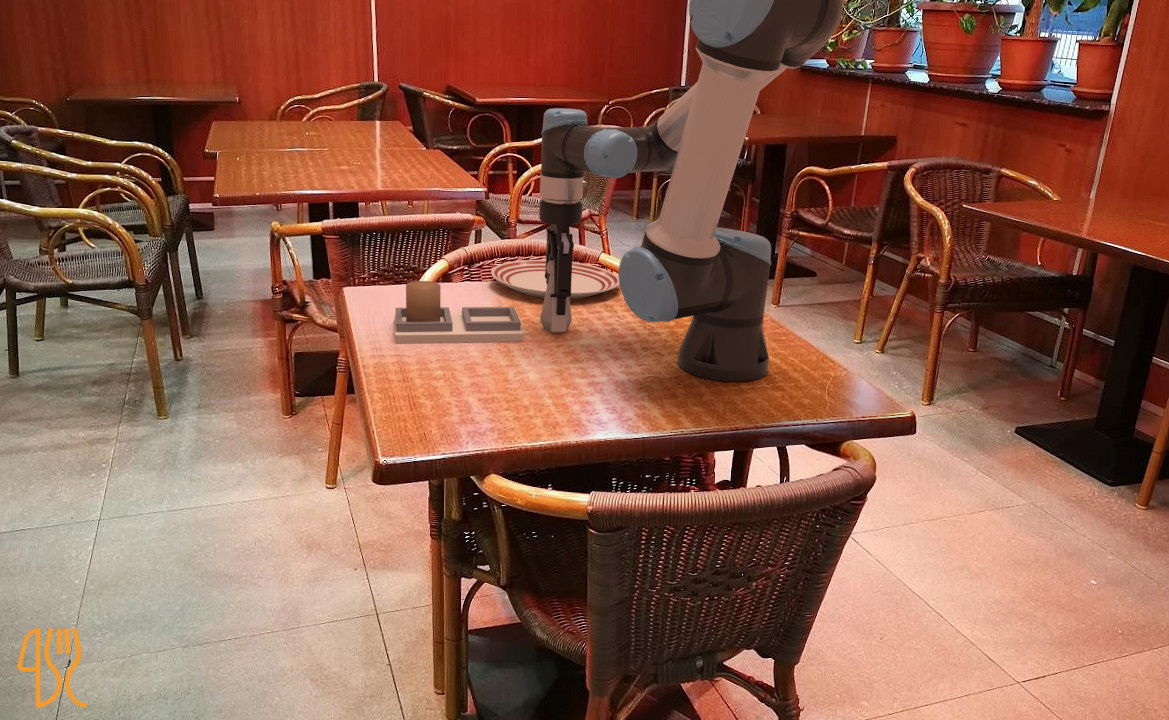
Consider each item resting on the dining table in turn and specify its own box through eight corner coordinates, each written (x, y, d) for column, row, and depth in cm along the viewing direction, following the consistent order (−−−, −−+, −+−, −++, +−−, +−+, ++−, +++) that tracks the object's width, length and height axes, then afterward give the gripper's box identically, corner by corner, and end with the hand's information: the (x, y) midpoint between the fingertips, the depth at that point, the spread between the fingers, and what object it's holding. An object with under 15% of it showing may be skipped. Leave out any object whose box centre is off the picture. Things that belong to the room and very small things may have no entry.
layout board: (522, 341, 167) (524, 295, 164) (395, 343, 162) (394, 295, 159) (513, 319, 179) (514, 275, 176) (394, 320, 174) (393, 275, 171)
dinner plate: (595, 270, 218) (596, 256, 217) (638, 304, 194) (639, 288, 193) (478, 274, 210) (478, 259, 209) (508, 309, 186) (508, 293, 184)
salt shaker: (535, 326, 175) (537, 257, 171) (563, 323, 178) (566, 256, 173) (547, 335, 171) (550, 265, 166) (576, 333, 173) (580, 263, 169)
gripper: (593, 210, 158) (585, 341, 166) (572, 190, 176) (566, 310, 183) (549, 209, 157) (543, 342, 165) (532, 190, 174) (528, 310, 182)
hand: (555, 325), depth 174 cm, fingers closed on salt shaker, 6 cm apart
